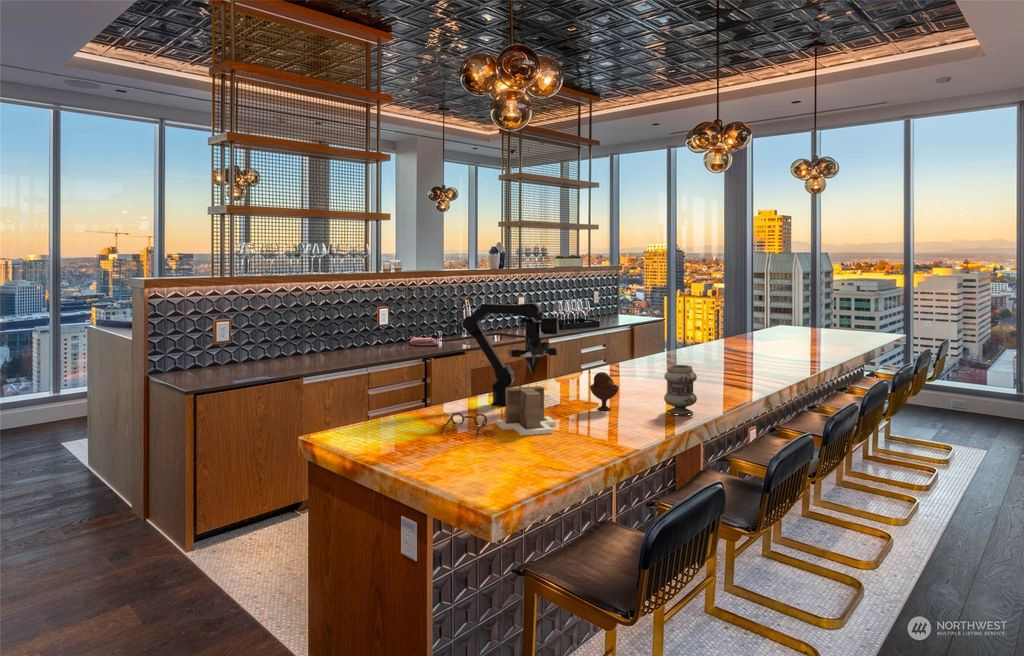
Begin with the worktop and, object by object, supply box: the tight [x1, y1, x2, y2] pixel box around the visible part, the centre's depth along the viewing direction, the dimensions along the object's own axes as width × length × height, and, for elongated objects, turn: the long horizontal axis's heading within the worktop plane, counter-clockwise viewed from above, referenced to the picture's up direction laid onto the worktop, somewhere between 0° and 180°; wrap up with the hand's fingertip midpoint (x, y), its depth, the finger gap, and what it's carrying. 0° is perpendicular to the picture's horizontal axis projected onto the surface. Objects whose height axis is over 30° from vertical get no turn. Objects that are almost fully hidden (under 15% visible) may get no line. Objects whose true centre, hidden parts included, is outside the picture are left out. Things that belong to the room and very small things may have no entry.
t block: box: [505, 385, 545, 429], centre depth 226 cm, size 13×13×13 cm
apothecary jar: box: [663, 364, 698, 415], centre depth 245 cm, size 12×12×18 cm
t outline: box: [495, 415, 557, 437], centre depth 226 cm, size 17×19×2 cm
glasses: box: [440, 412, 488, 437], centre depth 223 cm, size 13×13×5 cm
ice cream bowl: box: [589, 371, 620, 412], centre depth 251 cm, size 11×11×15 cm
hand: (532, 373), depth 259 cm, fingers closed
